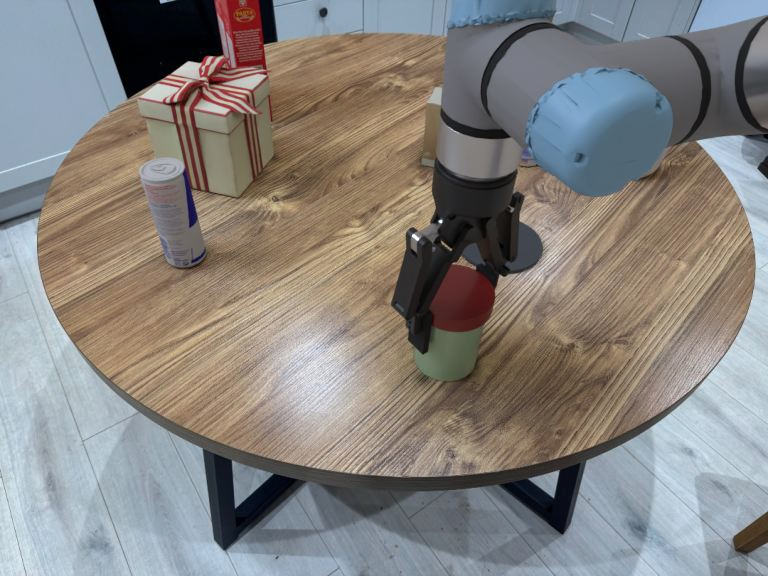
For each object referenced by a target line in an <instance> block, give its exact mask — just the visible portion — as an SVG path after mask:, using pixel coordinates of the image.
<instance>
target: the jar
mask: <svg viewBox="0 0 768 576" xmlns="http://www.w3.org/2000/svg"><path fill="white" fill-rule="evenodd" d="M484 329H485V324H483V325H482V326H481V327H479V328H477V329H474V330H471V331H467V332H448V331H444V330H441V329H438V328H435V327H433V326H432V325H431V332H430V340H429V348H428V352H427V353H425V354H424V355H422V354H421V353H420V352H419V351H418V350H417V349H416V348H415V347H414V346H413V351H412V354H413V360H414V363H415V366H416V367H417V368H418V369H419V370H420V372H421V373H423V374H424V375H425V376H427V377H429V378H431V379H433V380H436V381H439V382H454V381H459V380H462V379H464V378H466V377H467V376H468V375H470V374H471V373H472V372H473V370H474V368H475V367H476V364H477V359H478V355H479V350H480V346H481V341H482V338H483V333H484Z"/></svg>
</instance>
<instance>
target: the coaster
mask: <svg viewBox="0 0 768 576" xmlns="http://www.w3.org/2000/svg"><path fill="white" fill-rule="evenodd" d="M543 250H544V245H543V241H542V239H541V237H540V236H539V234H538V233H537V232H536V231H535V230H534V229H533V228H532V227H531V226H530V225H528V224H527V223H524V222H522V221H521V220H519V238H518V256H517V258H516V260H515V261H514V262H512V263H510V262H509V261H508V262H507V263H506V264H505V265H506V266H507V267H508V268H510V272H509V274H517V273H521V272H524V271H527V270H529V269H531V268H533V267H534V266H535V265H536V264H537V263H539V261H540V260H541V257H542V254H543ZM461 257H463V258H464V259H465V260H466V261H467V262H468V263H470V265H473V266H474V267H476V266H477V265H478V264H480V263H482V264H483V265H484V266H485V262H483V260H482V258H481V255H480V252H479V250H478V247H477V244H476V243H473V244H470V245H469V246H467V247H466V248H465V249H464V251H463V253H462V255H461Z"/></svg>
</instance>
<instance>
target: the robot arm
mask: <svg viewBox="0 0 768 576" xmlns="http://www.w3.org/2000/svg"><path fill="white" fill-rule="evenodd" d="M451 2H452V3H451V8H450V14H449V20H448V21H446V30H447V31H446V42H445V52H444V53H445V54H444V64H443V65H444V66H443V76H442V85H441V86H442V87H441V88H442V96H441V111H440V118H439V127H438V137H437V146H436V155H437V157H436V159H435V162H434V167H433V173H432V181H431V193H432V198H433V201H434V205H435V206H434V207H435V209H434V212H433V214H432V216H431V218H430V223H429V224H428V225H426V226H425V227H424V228H422V229H420V230H418V229H417V228H416V227H414V226H411V227H410V228H409V229H407V230H406V232H405V250H404V254H403V259H402V262H401V265H400V269H399V273H398V276H397V277H398V278H397V281H396V284H395V287H394V292H393V295H392V299H391V302H390V306H391V307H392V309H394V310H395V311H396V312H397V314H399V315H400V316H401V317H402V319H404V320H405V327H406V329H407V330H408V334H407V341H408V342H409V343H410V344H411V345H412V346H413V348H414V347H415V348H416V349H417V350H418V351H419V352H420V353H421V354H422V355H424V354H425V353H427V352H428V348H429V340H430V332H431V325H432V317H433V312H432V311H431V310H430V309H429V307H430V305H431V303H432V301H433V299H434V298H435V296H436V294H437V292H438V290H439V288H440V286H441V284H442V282H443V280H444V278H445V276H446V274H447V272H448V270H449V269H450V267H451V265H452V264H457V263H458V262H459V261H460V258H461V257H462V253H463V251H464V249H465V248H466V247H467V246H469V245H470V244H473V243H476V244H477V247H478V250H479V252H480V255H481V258H482V260H483V262H485V266H484V265H483V264H482V263H480V264H478V265H477V266H475V270H477V271H478V272H480V273H482V274H483V275H484V276H485V277H486V278H487V279H488V280H489V281H490V282H491V283H492V285H493V287H494V290H495V291H496V289H497V286H498V284H499V279H500V276H501V277H502V278H506V277H507V276H508V275H509V274H510V273H509V272H510V268H508V267H507V266H506V265H505V264H506V263H507V262H508V261H509V262H510V263H512V262H514V261H515V260H516V258H517V256H518V238H519V221H520V219H521V218H520V217H521V211H522V208H523V204H524V201H525V198H526V196H525V194H523V193H522V192H520V191H519V190H517V189H516V188H515V185H516V180H517V177H518V168H519V167H520V165H519V164H520V162H521V158H522V153H523V149H524V150H525V151H526V152H527V153H528V154H529V155H530V156H531V158H532V159H534V160H535V163H536V164H537V166H538V167H539V169H542V171H543V172H545V173H548V174H550V175H551V176H552V177H554V178H556V179H557V180H558V181H560V182H561V183H562V184H563V185H565V186H566V187H567V188H568V189H570V190H571V191H573V192H574V193H576V194H578V195H580V196H584V197H588V198H589V197H590V198H602V197H608V196H611V195H614V194H617V193H619V192H621V191H622V190H623V189H624V188H625V187H626V186H627V184H628V183H630V182H632V181H633V182H636V181H639V180H640V179H642V178H641V177H642V176H644V175H645V174H646V173H647V172H648V171H649V170H650V169H651V168H652V166H653V165H654V164H655V163H656V162H657V160H658V159H659V157H660V156H661V154H662V153H663V151H664V149H665V148H668V147H671V146H672V147H675V146H678V145H681V144H686V143H692V142H697V141H704V140H709V139H715V138H721V137H722V138H723V137H733V136H734V137H735V136H736V137H737V136H751V135H765V134H766V135H767V134H768V14H764V15H761V16H757V17H752V18H748V19H744V20H742V21H738V22H733V23H730V24H727V25H726V24H725V25H722V26H717V27H712V28H707V29H701V30H696V31H695V30H694V31H689V32H684V33H679V34H673V35H671V34H670V35H662V36H656V37H655V36H654V37H649V38H642V39H636V40H635V39H634V40H629V41H628V40H627V41H621V42H615V43H607V44H602V45H591V44H587V43H585V42H583V41H582V40H580V39H579V38H577V37H575V36H573V35H572V34H570V33H569V32H567V31H565V30H564V29H562V28H561V27H560V26H558V25H557V24H555V23H554V22H553V20H554V17H555V16H556V13H557V0H452V1H451ZM672 147H671V148H672ZM449 248H450V249H449Z"/></svg>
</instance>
